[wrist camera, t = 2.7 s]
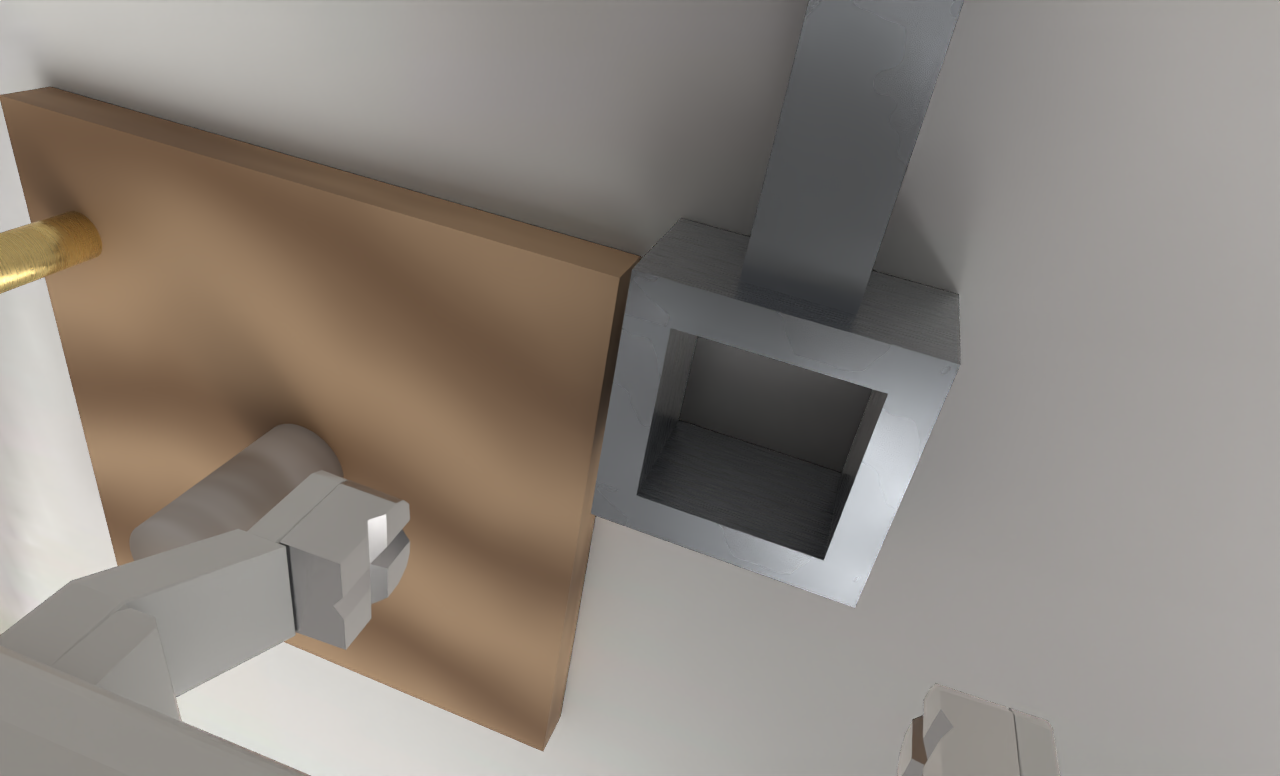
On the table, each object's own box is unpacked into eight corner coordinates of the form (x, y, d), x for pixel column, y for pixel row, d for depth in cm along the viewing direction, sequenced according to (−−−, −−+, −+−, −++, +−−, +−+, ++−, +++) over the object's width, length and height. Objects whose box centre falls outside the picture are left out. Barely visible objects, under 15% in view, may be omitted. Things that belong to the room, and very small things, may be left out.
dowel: (148, 247, 25) (6, 302, 21) (111, 235, 25) (-36, 287, 21) (141, 203, 24) (-8, 252, 20) (102, 192, 24) (-51, 238, 21)
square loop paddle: (868, 515, 21) (855, 608, 18) (637, 438, 22) (590, 513, 19) (1108, -71, 14) (1150, -73, 11) (750, -136, 15) (704, -154, 12)
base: (560, 716, 29) (471, 893, 24) (151, 547, 33) (-8, 669, 27) (640, 256, 20) (523, 377, 14) (50, 86, 23) (-224, 132, 18)
